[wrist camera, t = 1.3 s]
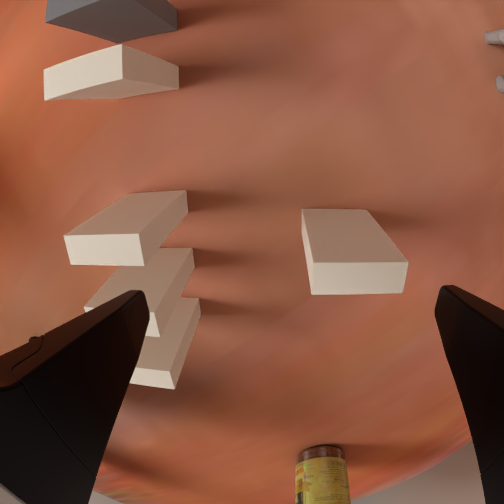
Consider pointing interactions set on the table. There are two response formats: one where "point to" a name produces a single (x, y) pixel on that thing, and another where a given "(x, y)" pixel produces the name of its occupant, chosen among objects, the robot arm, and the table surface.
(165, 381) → the domino
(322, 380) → the table surface
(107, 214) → the domino
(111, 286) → the domino
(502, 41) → the grey animal figure
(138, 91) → the domino
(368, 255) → the domino
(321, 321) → the table surface
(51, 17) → the domino
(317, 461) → the sauce bottle
